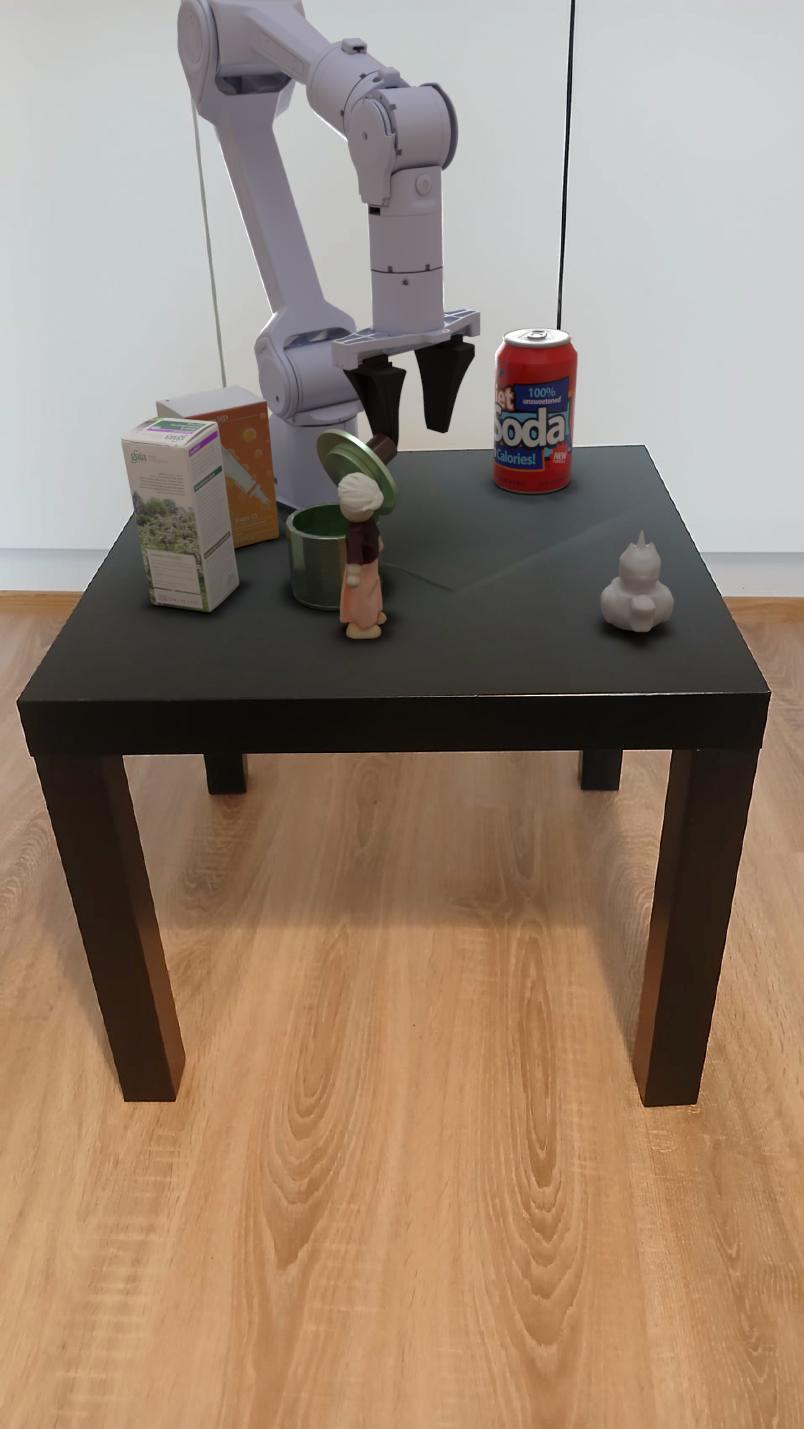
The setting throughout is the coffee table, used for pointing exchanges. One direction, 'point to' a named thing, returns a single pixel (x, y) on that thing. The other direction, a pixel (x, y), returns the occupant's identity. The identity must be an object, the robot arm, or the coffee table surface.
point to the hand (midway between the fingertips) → (412, 438)
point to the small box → (238, 455)
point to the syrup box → (181, 512)
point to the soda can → (534, 410)
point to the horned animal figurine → (637, 591)
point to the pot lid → (360, 461)
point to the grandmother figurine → (361, 557)
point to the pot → (320, 554)
